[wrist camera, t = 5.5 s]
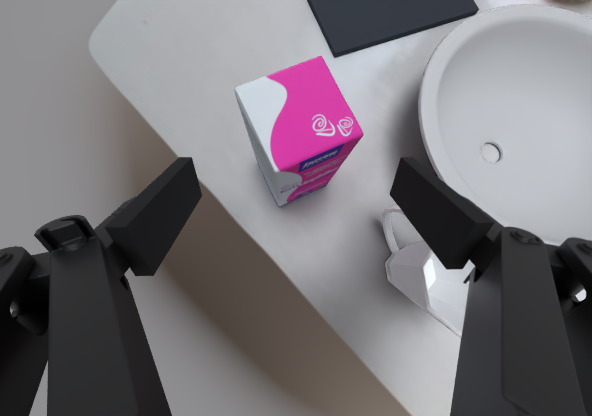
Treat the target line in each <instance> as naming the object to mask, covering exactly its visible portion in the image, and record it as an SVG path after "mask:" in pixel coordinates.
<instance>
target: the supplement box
mask: <svg viewBox="0 0 592 416" xmlns="http://www.w3.org/2000/svg"><path fill="white" fill-rule="evenodd" d="M234 92H235V95H236V98H237V101H238V104H239V107H240V110H241V113H242V116H243V119H244V122H245V126H246V129H247V132H248V135H249V138H250V141H251V144H252V147H253V150H254V153H255V156H256V159H257V162H258V164H259V166H260V169H261V171H262V173H263V175H264V177H265V180H266V182H267V184H268V186H269V188H270V190H271V193H272V195H273V197H274V199H275V201H276V203H277V205H278V207H281V206H283V205H285V204H287V203H289V202H290V201H292V200H295V199H297V198H299V197H301V196H303V195H306V194H308V193H310V192H312V191H315V190H317V189H320V188H322V187H324V186H326V185H327V184H328V182H329V181H330V180H331V178H332V177H333V175H334V174H335V173H336V171H337V170H338V169H339V167H340V166H341V164H342V163H343V162H344V160H345V159H346V158H347V156H348V155H349V154H350V152H351V151H352V150H353V148H354V147H355V146H356V144H357V143H358V142H359V140H360V139H361V138H362V136H363V132H362V130H361V128H360V126H359V124H358V122H357V120H356V118H355V117H354V115H353V113H352V111H351V110H350V108H349V106H348V105H347V103H346V101H345V99H344V97H343V95H342V94H341V92H340V90H339V88H338V86H337V84H336V82H335V80H334V78H333V76H332V75H331V73H330V71H329V69H328V67H327V65H326V63H325V61H324V59H323V57H322V56H318V57H316V58H313V59H310V60H308V61H305V62H302V63H300V64H297V65H294V66H291V67H289V68H286V69H283V70H281V71H278V72H275V73H273V74H270V75H267V76H264V77H261V78H259V79H256V80H253V81H251V82H248V83H245V84H243V85H240V86H237V87H235V88H234Z"/></svg>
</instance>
